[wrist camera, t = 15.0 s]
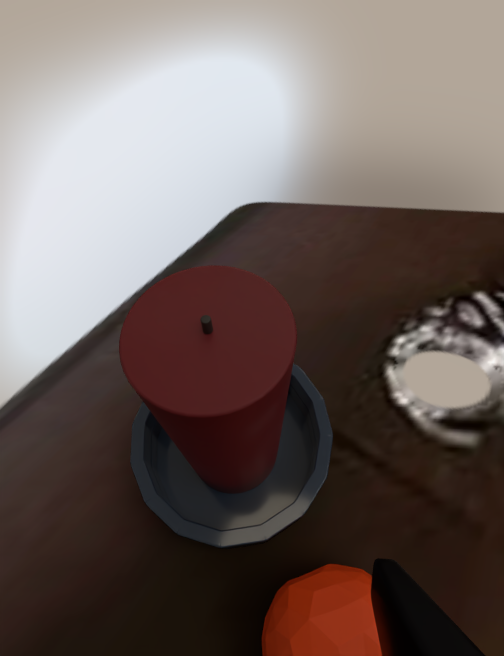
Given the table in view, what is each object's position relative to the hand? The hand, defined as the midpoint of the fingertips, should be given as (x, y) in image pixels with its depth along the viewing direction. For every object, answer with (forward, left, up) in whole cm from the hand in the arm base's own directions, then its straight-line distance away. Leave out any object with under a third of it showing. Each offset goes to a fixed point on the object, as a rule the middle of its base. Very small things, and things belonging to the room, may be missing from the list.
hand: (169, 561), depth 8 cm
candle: (+5, -3, -12) cm, 14 cm away
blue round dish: (+5, -3, -13) cm, 14 cm away
